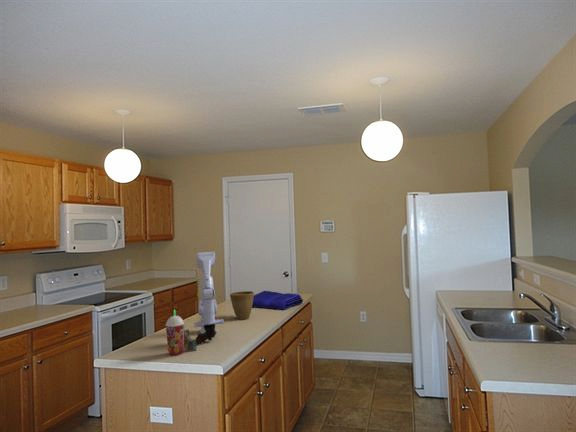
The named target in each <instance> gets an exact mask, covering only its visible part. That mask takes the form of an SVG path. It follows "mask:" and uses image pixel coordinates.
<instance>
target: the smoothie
mask: <svg viewBox="0 0 576 432" xmlns="http://www.w3.org/2000/svg"><path fill="white" fill-rule="evenodd" d="M165 330H166V331H165V333H166V341H167V351H168V354H169V355H170V356H173V355H175V356H179V355H182V354H183V352H184V350H185V349H184V348H185V345H184V344H185V342H184V330H185V321H184V320H183V318H182V317H181V316H180V315H176V309H174V310H173V315H172V316H170V317H169V318H168V319H167V320H166V323H165Z"/></svg>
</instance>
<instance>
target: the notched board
mask: <svg viewBox="0 0 576 432" xmlns="http://www.w3.org/2000/svg"><path fill="white" fill-rule="evenodd" d="M184 344H185V345H186V347H187V350H188V351H189V352H194V351H197V344H196V339H195V338H194V339H193V338H191V336H190V329H184Z"/></svg>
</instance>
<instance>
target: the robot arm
mask: <svg viewBox="0 0 576 432" xmlns="http://www.w3.org/2000/svg"><path fill="white" fill-rule="evenodd" d="M215 263H216V253H215V251H204V252H201V251H200V252H198V251H197V253H196V265H197V266H196V267H197V268H200V269H201V272H202V274H201V275H202V278H201V292H200V293H201V299H200V300H199V302H198V316H199V317H200V321H198V322H194V324H193V327H194V329H195V328H200V330H199V332H200V333H205V332H206V333H207V336H208V338H207V340H208V341H212V339H213V337H212V335H213V331H214V329H215V330H216V325H224V324H225V321H224V319H223V318H221V319H216V318H215V317H216V315H217V314H218V309H217V308H218V306H217V300H216V291H215V286H214V278H213V276H211V269H212V268H213V267H215V265H216V264H215ZM217 333H218V332H217V330H216V334H217Z"/></svg>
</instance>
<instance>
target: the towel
mask: <svg viewBox="0 0 576 432" xmlns="http://www.w3.org/2000/svg"><path fill="white" fill-rule="evenodd" d="M303 302H304V299H303V298H302V296H301V295H300V294H299V293H281V292H276V291H269V290H263V291H260V292H258V293H257V294H254V297H253V304H252V308H259V309H272V310H280V311H286V310H289V309H290V308H291V307H294V306H300V305H302V304H303Z"/></svg>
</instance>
